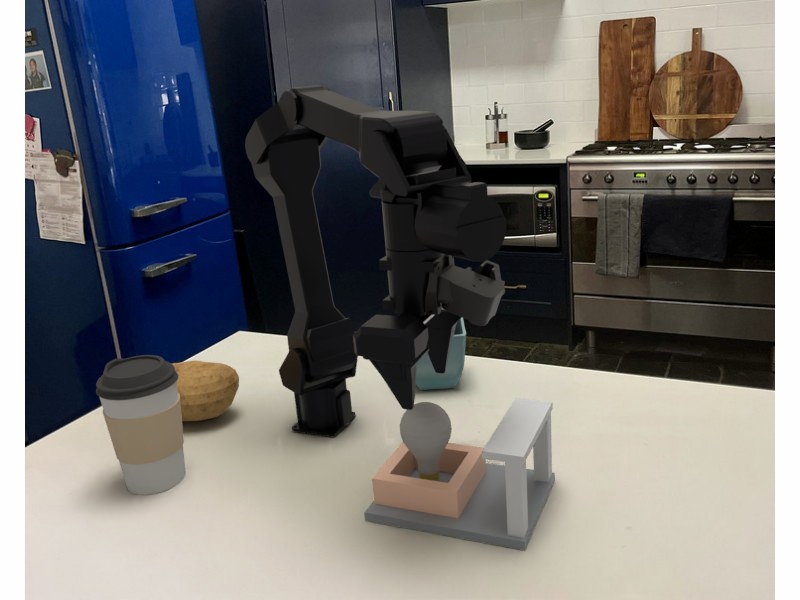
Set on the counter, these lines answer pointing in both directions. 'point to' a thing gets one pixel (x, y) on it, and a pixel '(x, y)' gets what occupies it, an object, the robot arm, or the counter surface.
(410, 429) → the light bulb
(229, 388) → the potato
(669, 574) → the counter surface
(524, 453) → the socket stand
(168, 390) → the coffee cup
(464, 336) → the flower pot
